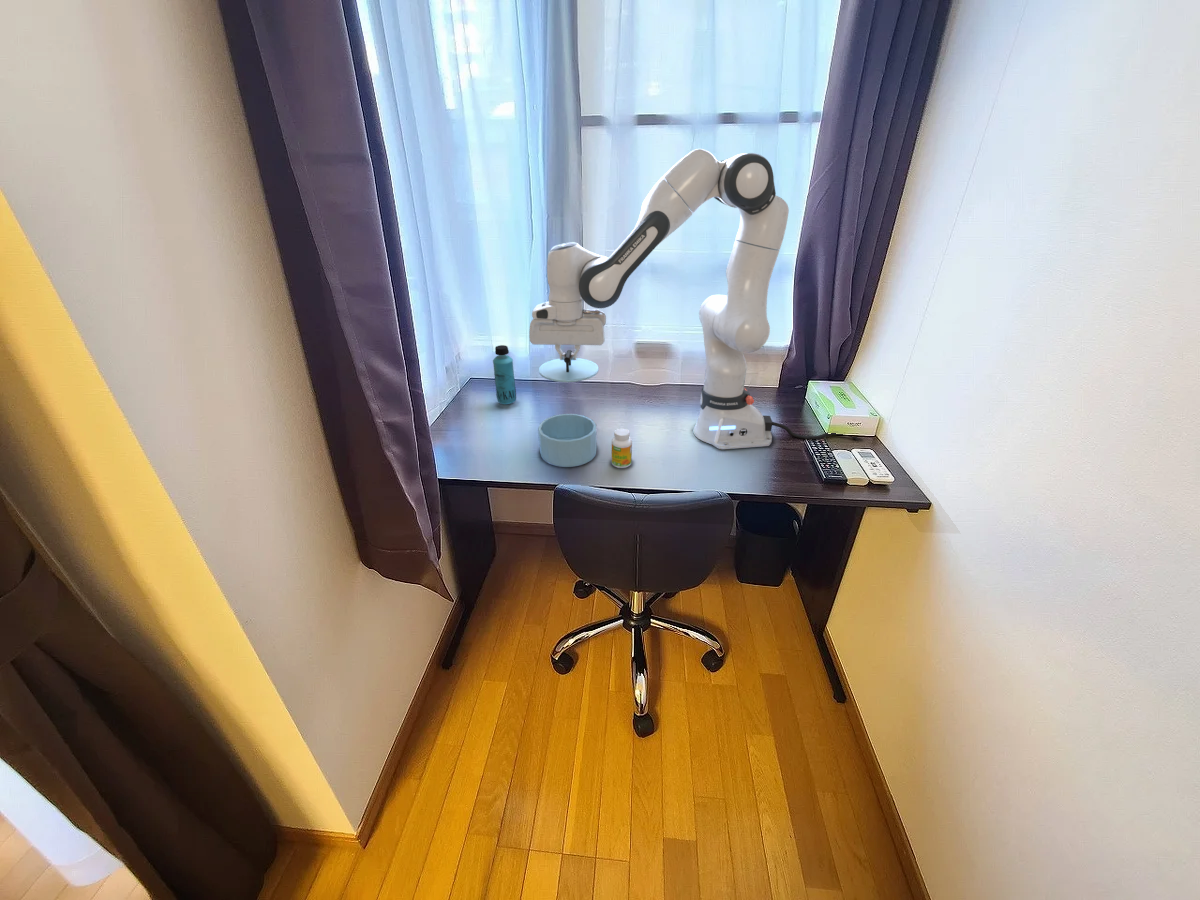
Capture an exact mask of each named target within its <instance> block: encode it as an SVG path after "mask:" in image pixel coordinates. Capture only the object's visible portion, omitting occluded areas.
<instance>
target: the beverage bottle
mask: <svg viewBox="0 0 1200 900" xmlns="http://www.w3.org/2000/svg"><path fill="white" fill-rule="evenodd" d="M494 352H495V353H494V354H495V355H496V356H495V357H494V358H493V360H492V363H493V364H492V365H493V376H494V384H495V395H496V400H497V402H498V403H499V404H501V405H510V404H513V403H515V402H516V401H517V391H516V390H517V389H516V382H515V381H516V379H515V371H514V360H513V358H512V357H511V356H509V353H510V352H509V347H508V345H505V344H500V345H497V346H495V348H494Z"/></svg>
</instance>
